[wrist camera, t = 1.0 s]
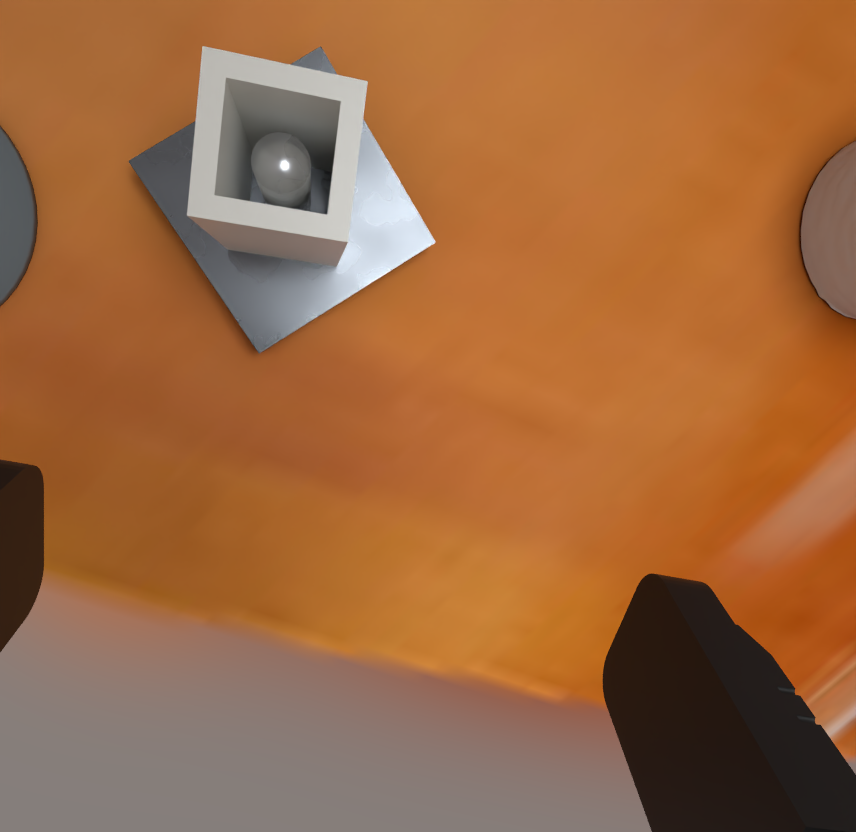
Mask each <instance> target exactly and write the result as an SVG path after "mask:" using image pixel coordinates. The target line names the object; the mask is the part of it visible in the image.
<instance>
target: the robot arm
mask: <svg viewBox="0 0 856 832" xmlns="http://www.w3.org/2000/svg"><path fill="white" fill-rule="evenodd" d="M43 570H44V483H43V476H42V473H41V471H40V469H39V468H38V467H37V466H34V465H28V464H23V463H17V462H11V461H5V460H0V652H1V651H2V649H3V648H4V647H5V645H6V644H7V642H8V641H9V640H10V639H11V637H12V636H13V635H14V633H15V632H16V631H17V629H18V628H19V627H20V625H21V624H22V623H23V621H24V620H25V618H26V617H27V615H28V614H29V612H30V610H31V609H32V606H33V604H34V602H35V600H36V598H37V595H38V592H39V589H40V586H41V582H42V577H43ZM603 692H604V698H605V702H606V705H607V708H608V711H609V713H610V716H611V719H612V722H613V725H614V727H615V730H616V733H617V735H618V738H619V741H620V744H621V747H622V750H623V752H624V755H625V758H626V761H627V763H628V766H629V769H630V772H631V775H632V777H633V780H634V783H635V786H636V788H637V791H638V794H639V797H640V800H641V802H642V805H643V808H644V811H645V814H646V816H647V819H648V822H649V825H650V827H651V830H652V832H856V775H855V773H854V772H853V770H852V769H851V767H850V766H849V765H848V763H847V762H846V760H845V759H844V757H843V756H842V755H841V753H840V752H839V750H838V749H837V748H836V746H835V745H834V743H833V742H832V740H831V739H830V738H829V736H828V735H827V733H826V732H825V730H824V729H823V728H822V726H821V725H817V724H815V716H814V715H813V713H812V712H811V711H810V709H809V708H808V706H807V705H806V703H805V702H804V701H803V699H802V698H801V696H799V695H795V688H794V686H793V685H792V684H791V682H790V681H789V679H788V678H787V676H786V675H785V674H784V672H783V671H782V669H781V668H780V667H779V665H778V664H777V662H776V661H775V659H774V658H773V657H772V655H771V654H770V653H768V652H767V651H766V650H765V649H764V648H763V647H762V646H761V645H760V644H759V643H757V642H756V641H755V640H754V639H753V638H752V637H751V636H750V635H749V634H747V633H746V632H745V631H744V630H743V629H742V628H741V627H740V626H739V625H735V623H734V622H733V620H732V619H731V617H730V616H729V615H728V613H727V612H726V610H725V609H724V607H723V606H722V604H721V603H720V601H719V600H718V598H717V597H716V595H715V594H714V592H713V591H712V589H711V588H710V587H709V586H708V585H707V584H705V583H703V582H699V581H693V580H687V579H681V578H675V577H670V576H664V575H658V574H648V575H646V576H645V577H644V578H643V579H642V580H641V581H640V583H639V585H638V587H637V589H636V591H635V593H634V595H633V598H632V600H631V602H630V604H629V607H628V609H627V611H626V613H625V616H624V618H623V620H622V622H621V625H620V627H619V629H618V631H617V633H616V636H615V638H614V640H613V642H612V645H611V647H610V649H609V651H608V654H607V656H606V660H605V664H604V670H603Z"/></svg>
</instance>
